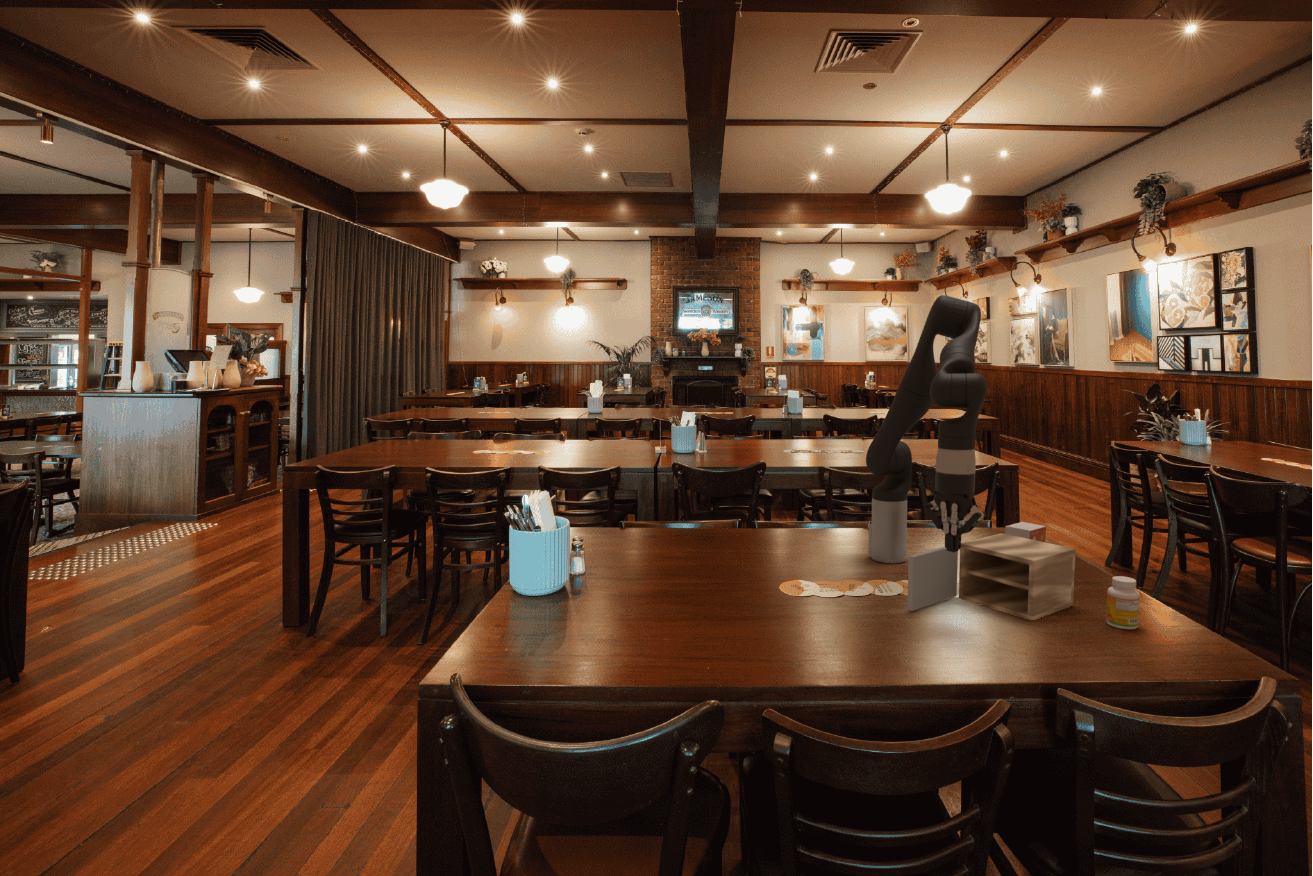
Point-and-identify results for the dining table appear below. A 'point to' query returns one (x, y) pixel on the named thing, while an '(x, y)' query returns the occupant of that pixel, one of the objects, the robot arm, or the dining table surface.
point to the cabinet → (1017, 575)
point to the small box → (1027, 531)
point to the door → (931, 577)
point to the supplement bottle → (1123, 603)
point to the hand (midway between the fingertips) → (952, 551)
